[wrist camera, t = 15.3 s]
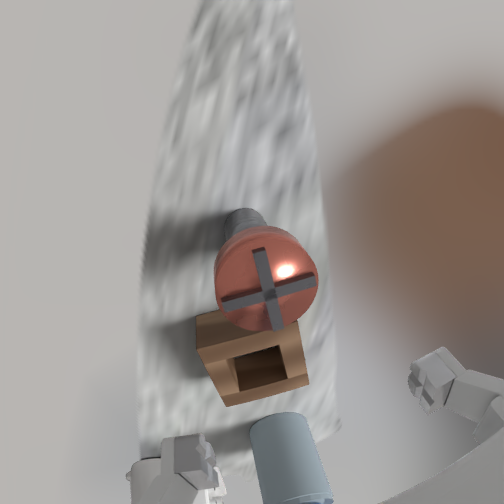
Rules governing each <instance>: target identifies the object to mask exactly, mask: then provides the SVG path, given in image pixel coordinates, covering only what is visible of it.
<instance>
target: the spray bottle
mask: <svg viewBox="0 0 504 504" xmlns="http://www.w3.org/2000/svg"><path fill="white" fill-rule="evenodd" d="M250 439H251V445H252V450H253V455H254V460H255V465H256V470H257V475H258V480H259V485H260V489H261V494H262V499H263V504H332V503H333V498H332V497H333V494H332V491H331V488H330V485H329V482H328V480H327V477H326V474H325V471H324V468H323V465H322V462H321V460H320V457H319V454H318V451H317V449H316V445H315V443H314V440H313V437H312V434H311V431H310V428H309V425H308V423H307V420H306V418H305V417H304V416H303V415H301V414H298V413H289V412H285V413H278V414H274V415H271V416H267V417H265V418H263V419H261V420H259V421H258V422H256V423H255V424H254V425H253V426H252V427H251V429H250Z"/></svg>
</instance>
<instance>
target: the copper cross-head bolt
mask: <svg viewBox="0 0 504 504" xmlns="http://www.w3.org/2000/svg"><path fill="white" fill-rule="evenodd" d="M224 231H225V237H226V243H225V244H224V245H223V246H222V248H221V249H220V251H219V253H218V255H217V257H216V260H215V264H214V283H215V294H216V300H217V304H218V306H219V308H220V310H221V312H222V313H223V315H224V316H225V317H226V318H227V319H228V320H229V321H231V322H232V323H233V324H235V325H237V326H239V327H241V328H244V329H247V330H252V331H270V330H273V332H275V331H278V330H281V329H285V328H284V327H285V326H287V325H289V324H291V323H292V322H294V321H296V320H297V319H298V318H300V317H301V316H302V315H303V314H304V313H305V312H306V311H307V309H308V308H309V307H310V305H311V304H312V302H313V300H314V298H315V296H316V293H317V289H318V273H317V269H316V266H315V264H314V262H313V261H312V259H311V258H310V256H309V255H308V254H307V252H306V251H305V250H304V248H303V247H302V246H301V244H300V243H299V242H298V240H297V239H296V238H295V237H294V236H293V235H291V234H290V233H288V232H287V231H285V230H282V229H280V228H277V227H272V226H267V224H266V222H265V220H264V219H263V217H262V216H261V215H260V214H259V213H258V212H257V211H255V210H253V209H249V208H242V209H238V210H236V211H234V212H233V213H232V214H230V215H229V217H228V218H227V220H226V222H225V226H224Z"/></svg>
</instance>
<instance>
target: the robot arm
mask: <svg viewBox="0 0 504 504" xmlns="http://www.w3.org/2000/svg"><path fill="white" fill-rule="evenodd" d="M410 370H411V371H412V372H411V374H410V375H409V377H408V385H409V388H410V391H411V393H412V394H413V396H415V397H417V398H420V406H421V407H422V408H423V410H424V411H425V413H426V414H427V415H429V414H431V413H433V412H435V411H436V410H438V409H440V408H442V407H445V408H447V409H449V410H451V411H453V412H456V413H458V414H460V415H462V416H464V417H466V418H468V419H470V420H473V421H475V422H477V423H479V424H478V425H477V427H476V429H475V431H474V433H473V437H474V438H475V440H476V441H477V443H478V444H479V446H478V447H476V448H475V449H474V450H472V451H471V452H469V453H468V454H467V455H465V456H464V457H462V458H461V459H459V460H458V461H456V462H455V463H453V464H452V465H450V466H448V467H447V468H445V469H444V470H442V471H440V472H439V473H437V474H436V475H434V476H432V477H430V478H429V479H427V480H425V481H423V482H421V483H419V484H418V485H416V486H414V487H412V488H410V489H408V490H406V491H404V492H402V493H400V494H398V495H396V496H394V497H392V498H390V499H388V500H385V501H383V502H381V503H379V504H504V379H500V378H497V377H493V376H489V375H486V374H483V373H479V372H476V371H472V370H468V371H466V370H465V368H464V367H463V366H462V365H461V364H460V363H459V362H458V361H457V360H456V359H455V358H454V356H452V354H451V353H450V352H449V351H448V350H447V349H446V348H444V347H441V348H439V349H437V350H436V351H434V352H431V353H430V354H427V355H426V356H424V357H422V358H420V359H418V360H416V361H414V362H413V363H412V364H411V366H410ZM215 465H216V456H215V453H214V450H213V448H212V445H211V444H210V443H209V442H206V441H205V436H204V435H203V434H202V433H198V434H192V435H186V436H179V437H171V438H164V439H163V440H162V442H161V458H155V459H145V460H141V461H138V462H136V463H134V464H133V465H132V468H131V471H130V472H128V473H127V474H126V479H127V480H129V481H130V484H131V504H223V499H222V496H223V495H226V493H227V492H226V488H225V485H224V482H223V479H222V476H221V473H220V470H219V468H218V467H216V466H215Z"/></svg>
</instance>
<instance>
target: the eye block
mask: <svg viewBox="0 0 504 504" xmlns="http://www.w3.org/2000/svg"><path fill="white" fill-rule="evenodd" d="M284 328H285V329H281V330H278V331H275V332H273V330H270V331H252V330H247V329H244V328H241V327H239V326H237V325H235V324H233V323H232V322H231V321H229V320H228V319H227V318H226V317H225V316H224V315H223V313H222V312H221V310H217V311H213V312H209V313H206V314H202V315H198V316H196V350H197V352H198V354H199V356H200V358H201V360H202V362H203V364H204V366H205V368H206V370H207V372H208V374H209V376H210V377H211V379H212V381H213V383H214V385H215V387H216V389H217V391H218V393H219V395H220V396H221V398H222V400H223V402H224V404H225V406H226V407H229V406H233V405H238V404H242V403H246V402H250V401H254V400H258V399H261V398H265V397H269V396H272V395H276V394H279V393H283V392H286V391H290V390H293V389H296V388H299V387H303V386H306V385H309V379H308V374H307V368H306V363H305V358H304V352H303V347H302V342H301V337H300V331H299V326H298V321H297V320H296V321H294V322H292V323H291V324H289V325H287V326H285V327H284ZM276 345H277V347H275V348H272V349H268V350H265V351H261V352H258V353H254V354H250V355H247V356H243V357H239V358H235V359H234V357H237V356H240V355H244V354H248V353H251V352H255V351H259V350H262V349H266V348H269V347H273V346H276Z"/></svg>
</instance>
